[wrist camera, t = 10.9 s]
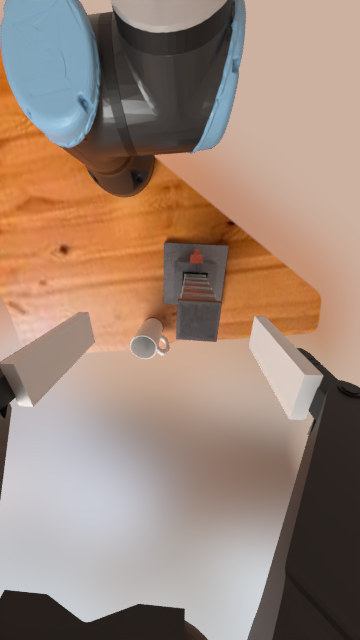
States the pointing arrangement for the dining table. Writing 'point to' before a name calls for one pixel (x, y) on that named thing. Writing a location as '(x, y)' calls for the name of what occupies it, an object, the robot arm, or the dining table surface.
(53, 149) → the dining table surface
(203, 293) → the column
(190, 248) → the sleeve
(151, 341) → the mug
